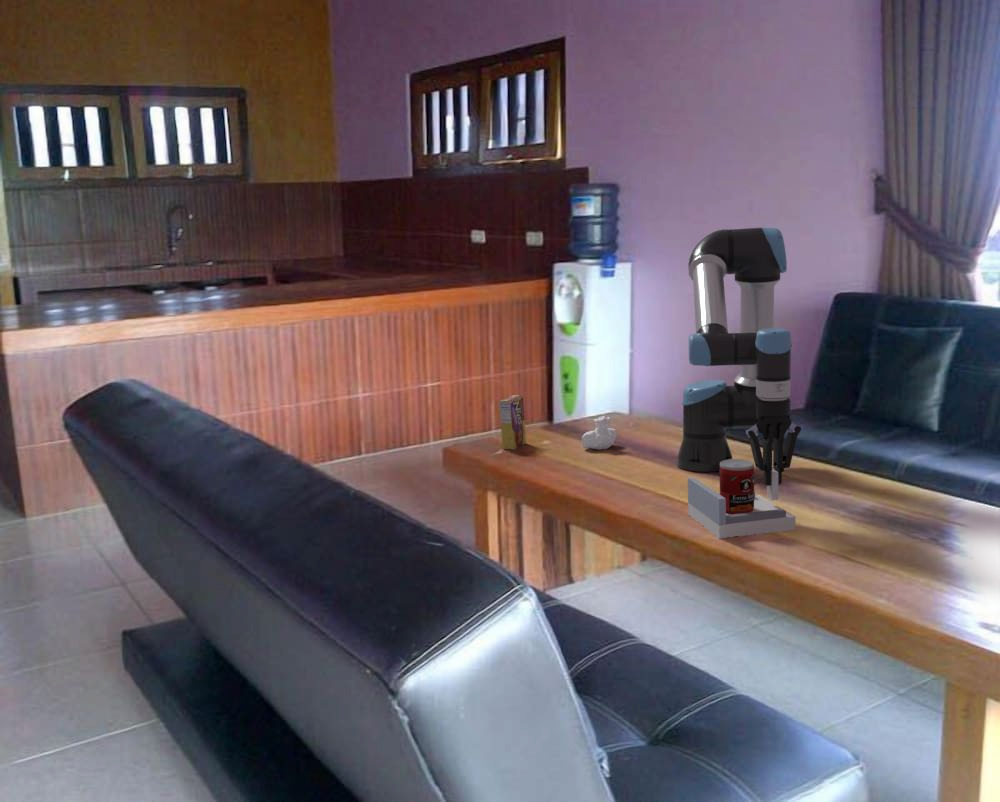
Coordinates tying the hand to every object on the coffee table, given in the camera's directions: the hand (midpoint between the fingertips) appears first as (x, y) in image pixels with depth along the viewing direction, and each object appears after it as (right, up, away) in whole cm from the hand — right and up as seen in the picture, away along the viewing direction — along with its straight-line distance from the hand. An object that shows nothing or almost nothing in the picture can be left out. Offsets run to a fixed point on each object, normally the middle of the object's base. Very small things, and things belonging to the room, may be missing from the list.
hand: (772, 498), depth 233 cm
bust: (-32, +8, +73) cm, 80 cm away
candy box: (-58, +8, +81) cm, 100 cm away
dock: (-8, -5, -1) cm, 9 cm away
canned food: (-8, -3, -1) cm, 9 cm away
